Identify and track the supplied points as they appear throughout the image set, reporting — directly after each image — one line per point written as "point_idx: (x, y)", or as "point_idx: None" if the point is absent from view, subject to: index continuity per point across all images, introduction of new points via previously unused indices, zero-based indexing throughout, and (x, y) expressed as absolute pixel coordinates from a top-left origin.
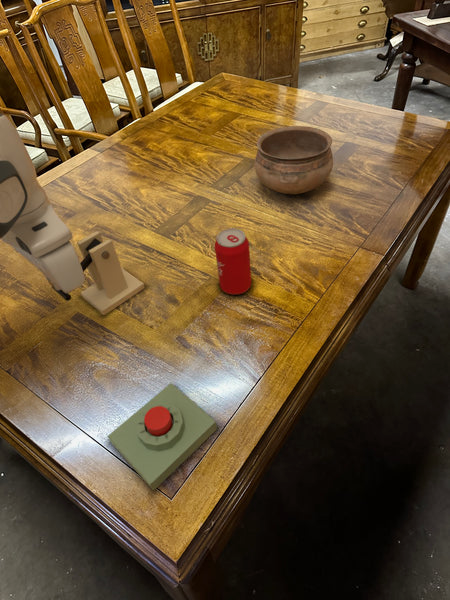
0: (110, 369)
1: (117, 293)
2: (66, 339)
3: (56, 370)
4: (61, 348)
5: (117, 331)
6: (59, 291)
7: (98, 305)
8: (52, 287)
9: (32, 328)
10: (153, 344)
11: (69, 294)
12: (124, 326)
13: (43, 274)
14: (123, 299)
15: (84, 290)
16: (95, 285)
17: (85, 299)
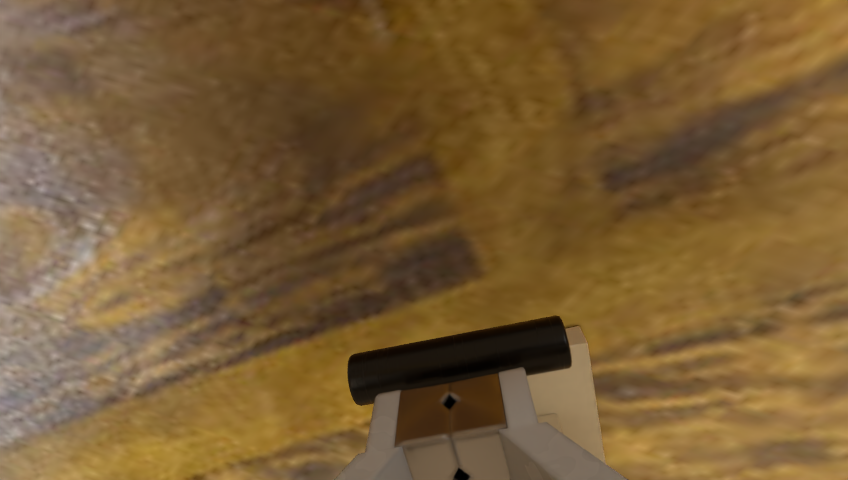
0: (34, 277)
1: None
2: (323, 166)
3: (130, 56)
4: (273, 124)
5: (243, 373)
6: (444, 363)
7: None
8: (548, 328)
9: (532, 16)
10: (101, 451)
11: (372, 403)
12: (256, 405)
13: (554, 442)
14: None
15: (586, 365)
16: None
17: None
